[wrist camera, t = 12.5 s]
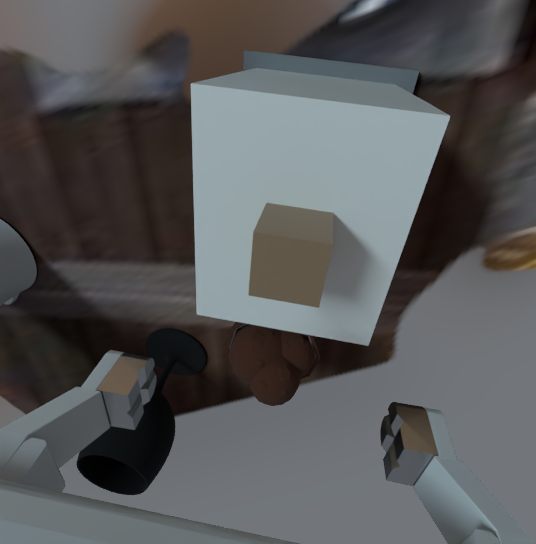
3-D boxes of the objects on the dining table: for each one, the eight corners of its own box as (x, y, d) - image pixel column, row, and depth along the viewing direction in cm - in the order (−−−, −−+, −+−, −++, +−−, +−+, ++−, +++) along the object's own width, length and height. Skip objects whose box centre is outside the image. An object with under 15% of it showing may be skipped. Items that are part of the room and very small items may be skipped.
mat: (236, 223, 43) (235, 225, 42) (245, 50, 33) (244, 50, 32) (367, 244, 41) (367, 246, 41) (418, 70, 31) (419, 70, 31)
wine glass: (141, 358, 59) (66, 478, 43) (153, 318, 54) (72, 438, 37) (197, 381, 60) (145, 507, 44) (215, 344, 55) (163, 473, 38)
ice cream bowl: (334, 285, 45) (333, 375, 33) (303, 341, 51) (293, 435, 39) (257, 257, 45) (227, 338, 32) (236, 318, 51) (204, 405, 38)
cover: (246, 218, 41) (176, 352, 23) (256, 68, 33) (157, 91, 14) (355, 235, 40) (373, 390, 22) (395, 84, 32) (479, 132, 13)
